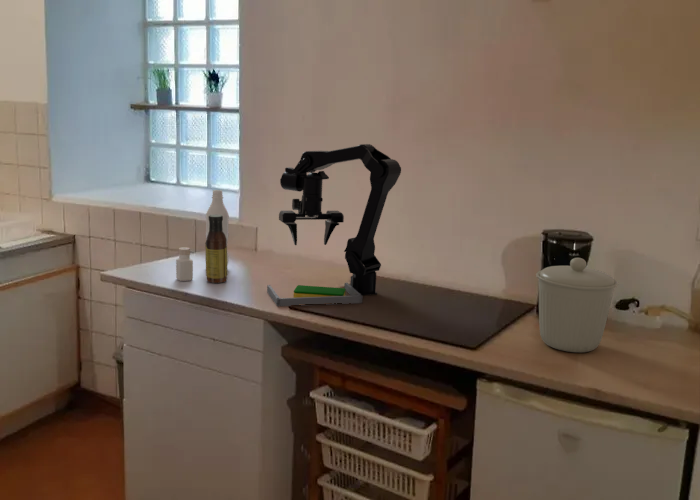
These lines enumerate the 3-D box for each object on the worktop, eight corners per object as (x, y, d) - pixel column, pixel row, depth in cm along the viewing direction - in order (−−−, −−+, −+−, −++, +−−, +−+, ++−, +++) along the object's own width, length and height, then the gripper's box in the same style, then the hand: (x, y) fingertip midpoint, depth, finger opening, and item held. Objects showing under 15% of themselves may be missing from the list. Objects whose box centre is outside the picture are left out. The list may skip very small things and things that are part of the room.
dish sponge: (342, 302, 197) (343, 294, 197) (293, 299, 198) (293, 291, 198) (345, 296, 204) (345, 288, 204) (297, 292, 205) (297, 284, 205)
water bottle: (209, 265, 232) (210, 188, 227) (231, 267, 231) (232, 189, 226) (202, 270, 225) (202, 191, 220) (224, 272, 224) (225, 192, 219)
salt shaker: (193, 280, 212) (193, 249, 210) (180, 282, 210) (180, 250, 208) (188, 277, 215) (188, 246, 213) (175, 279, 213) (175, 247, 211)
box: (346, 289, 210) (347, 282, 210) (362, 303, 196) (362, 296, 196) (267, 291, 203) (267, 285, 203) (277, 306, 189) (277, 299, 189)
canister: (563, 362, 157) (574, 268, 152) (514, 337, 173) (522, 251, 169) (627, 354, 164) (638, 264, 160) (573, 330, 180) (582, 248, 176)
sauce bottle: (217, 277, 217) (217, 212, 213) (231, 281, 213) (232, 215, 209) (200, 281, 211) (200, 214, 207) (215, 285, 208) (216, 217, 204)
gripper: (334, 190, 223) (332, 239, 226) (275, 189, 217) (274, 240, 220) (345, 195, 213) (342, 246, 216) (283, 194, 207) (282, 247, 210)
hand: (310, 244), depth 216 cm, fingers open, 9 cm apart
